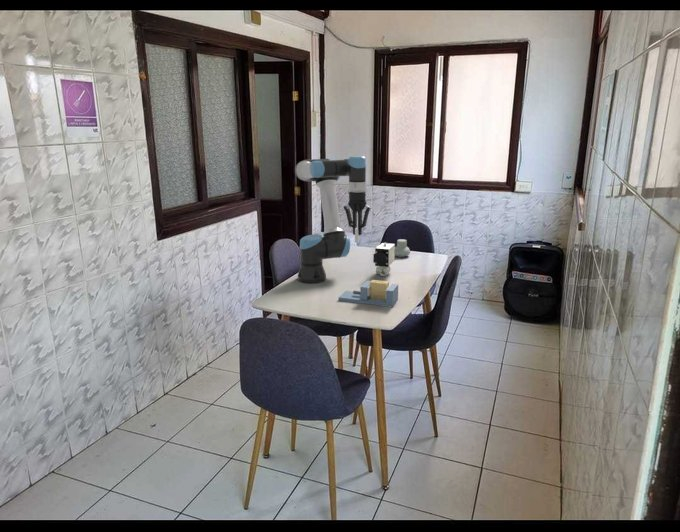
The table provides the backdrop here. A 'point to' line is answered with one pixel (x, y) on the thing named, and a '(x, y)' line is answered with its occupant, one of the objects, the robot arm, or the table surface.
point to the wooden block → (378, 289)
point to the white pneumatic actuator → (384, 258)
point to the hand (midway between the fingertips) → (357, 241)
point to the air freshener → (402, 248)
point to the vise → (390, 299)
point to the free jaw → (364, 291)
